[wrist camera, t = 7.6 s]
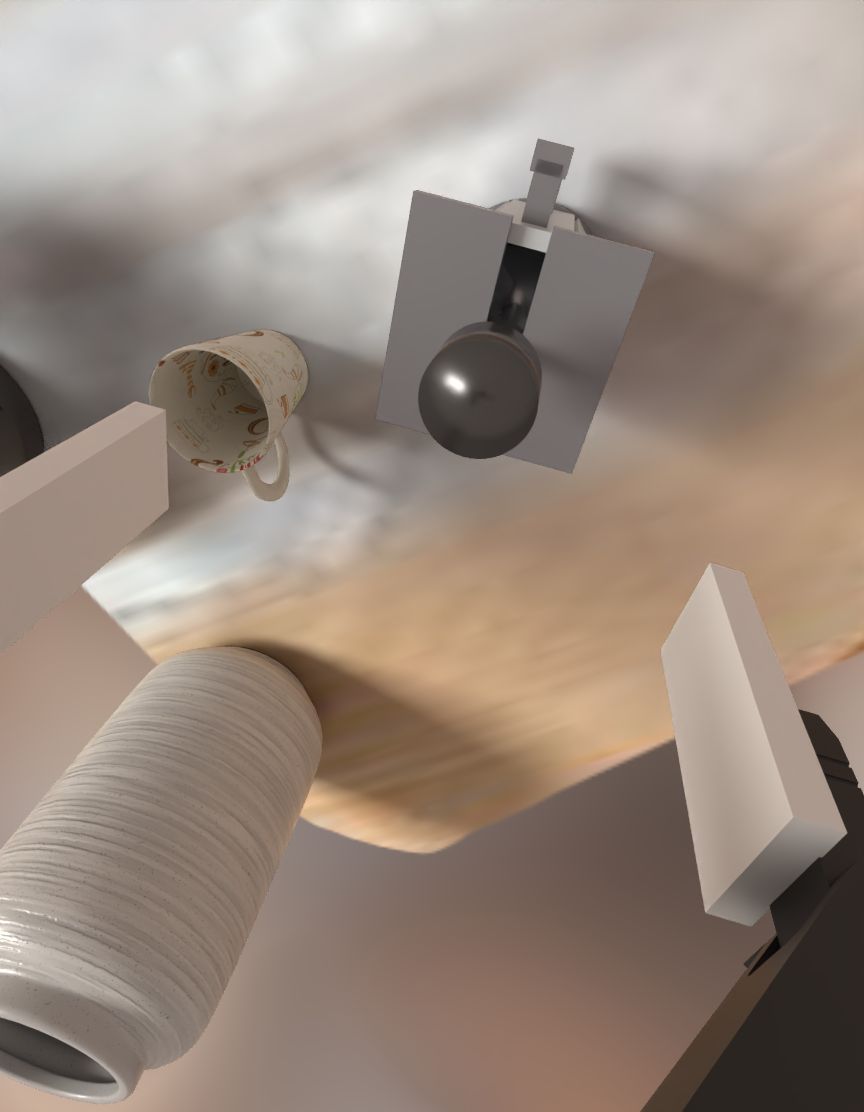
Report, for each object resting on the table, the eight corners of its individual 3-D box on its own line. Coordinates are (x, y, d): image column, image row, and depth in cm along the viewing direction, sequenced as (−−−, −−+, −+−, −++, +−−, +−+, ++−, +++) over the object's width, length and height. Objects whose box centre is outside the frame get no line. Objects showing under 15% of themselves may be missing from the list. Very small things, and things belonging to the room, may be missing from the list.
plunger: (445, 350, 39) (373, 460, 25) (472, 230, 35) (404, 280, 21) (552, 379, 39) (539, 507, 25) (591, 261, 35) (600, 333, 21)
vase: (150, 605, 65) (-171, 945, 37) (340, 644, 62) (151, 1036, 35) (176, 737, 76) (-56, 1075, 48) (337, 774, 74) (193, 1150, 46)
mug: (301, 301, 45) (240, 334, 37) (354, 461, 51) (311, 520, 43) (203, 325, 48) (124, 362, 39) (264, 475, 54) (207, 534, 45)
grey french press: (429, 347, 45) (375, 419, 33) (475, 123, 38) (427, 109, 25) (573, 386, 45) (571, 473, 33) (648, 167, 37) (683, 175, 25)
